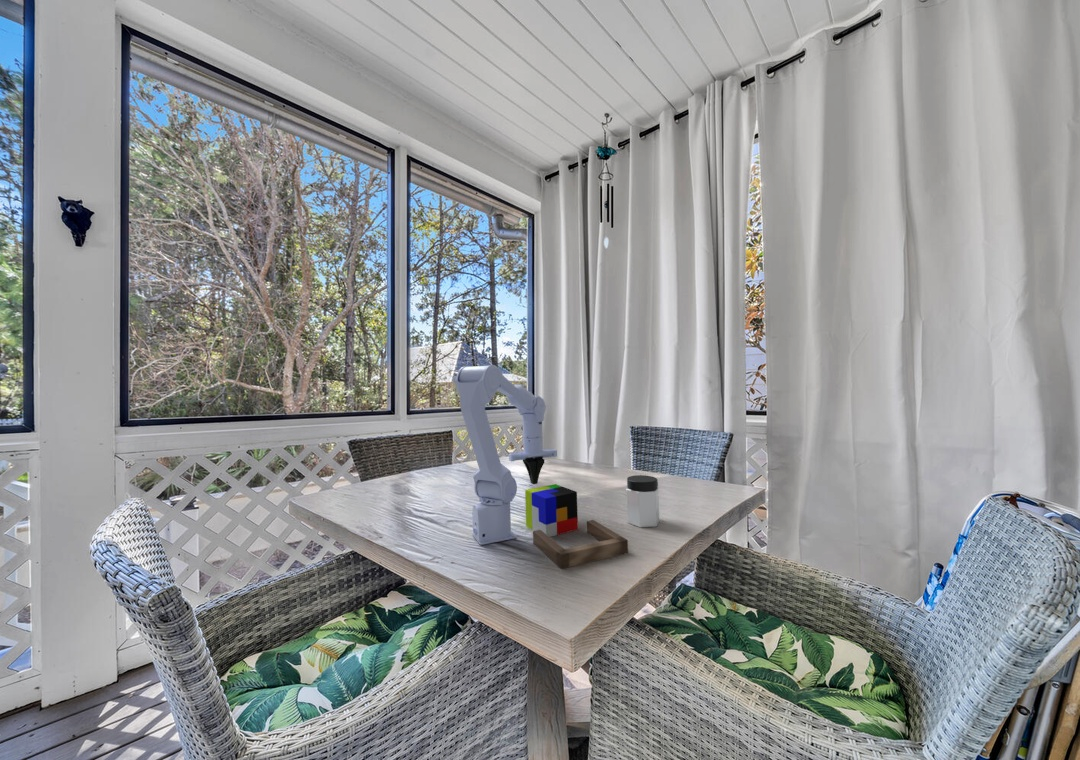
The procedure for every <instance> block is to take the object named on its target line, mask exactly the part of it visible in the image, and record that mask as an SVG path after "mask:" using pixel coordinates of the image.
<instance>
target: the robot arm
mask: <svg viewBox="0 0 1080 760" xmlns="http://www.w3.org/2000/svg"><path fill="white" fill-rule="evenodd" d="M454 385H455V386H456V390H457V393H458V397H459V406H460V412H461V414H462V418H463V420H464V424H465V427H466V430H467V432H468V437H469V440H470V443H471V447H472V449H473V454H474V455H475V456H474V457H475V459H476V463H477V466H478V469H477V470H476V472H475V473H474V474H473V476H472V477H473V480H474V494H475V495H476V497H478V498H479V503H476V504H474V505H473V506H472V511H471V512H472V533H471V534H472V536H473V538H475V540H476V541H477V543H478V544H479V545H480V546H481V545H482V546H484V545H488V544H492V543H498V542H504V541H507V540H508V541H509V540H514V539H517V537H518V536H517V535H516V534H515V533H514V532H513V531H512V525H511V524H512V523H511V521H512V520H511V518H512V517H511V515H512V514H511V502H513V500H514V498H515V497H516V495H517V491H518V485H517V481H516V479H515V478H514V477H513V475H512V472H511V470H510V468H508V467H506V465H504V464H502V463H501V459H500V456H499V452H498V449H497V446H496V443H495V440H494V439H495V438H494V436H493V435H494V434H493V432H492V428H491V425H490V422H489V421H490V420H489V419H488V415H487V411H486V405H487V404H489V403H490V402H491V401H492V400H493V398H494V396H495V395H496V393H497V392H498V393H501V394H502V395H504V396H506V400H507V403H509V404H510V405H512V406H514V407H515V408H516V409H518V413H519V414H520V416H522V439H523V440H522V441H523V442H522V443H523V445H522V446H523V451H519V452H513V453H508V461H509V462H511V463H512V462H515V461H522V463H523V464H524V466H525V468H526V470H527V474H528V476H529V481H530V483H531V484H532V485H537V484H538V482H539V477H540V474H541V470H542V468H543V466H544V464H545V459H544V458H551V457H553V458H556V457H558V450H557V449H554V448H553V449H551V448H550V449H544V448H543V447H544V442H543V441H544V440H543V422H544V420H545V413H546V409H547V408H546V407H547V406H546V402H545V400H544V398H542V397H541V396H539V395H538V396H537V395H534V394H533V392H532V391H529V390H528V389H526V388H525V386H524V384H513V383H512V382H511V381H510V380H509V379H508V378H507V377H505V375H503V371H502V369H501V368H499V367H498V366H497V365H495V364H489V365H478V366H469V365H464V366H461V367H460V368H459V370H458V371H457V374H456V376H455V378H454Z"/></svg>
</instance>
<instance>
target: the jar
mask: <svg viewBox="0 0 1080 760" xmlns="http://www.w3.org/2000/svg"><path fill="white" fill-rule="evenodd" d="M626 483H627V485H626V487H627V488H626V489H625V491H626V521H627V524H629V525H632V526H635V527H637V528H652V527H657V526H658V525H659V522H660V501H659V500H660V498H659V497H660V496H659V493H660V492H659V481H658V478H657V477H655V476H653V475H646V474H643V475H641V474H640V475H639V474H638V475H637V474H636V475H630V476H628V477H627V478H626Z"/></svg>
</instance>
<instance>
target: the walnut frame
mask: <svg viewBox="0 0 1080 760" xmlns="http://www.w3.org/2000/svg"><path fill="white" fill-rule="evenodd" d="M586 533H587V534H588V535H589V536H591V537H593V538H594V539H595V540H598V541H597V542H592V543H587V544H583V545H578V546H574V547H569V548H564V547H563V546H562V545H560V544H559V543H558V542H556V541H555V540H554V539H553V538H551V537H549V536H548V535H546V534H545V533H544V532H543V531H541V530H536V531H533V530H532V543H533V545H534V546H535V547H537V549H539V550H540V551H541V552H542V553H543V554H544V555H545V556H546V557H547V558H548V559H549V560H551V561H552V563H554V564H555V565H556V566H557V567H558V568H559V569H560V570H562V569H566V568H570V567H575V566H579V565H583V564H587V563H591V562H596V561H601V560H604V559H608V558H613V557H618V556H621V554H622V555H626V554H629V541H628V539H627V538H625V537H624V536H622V535H621V534H618V533H617V532H615V531H613V530H611V529H610V528H608V527H606V526H605V525H604V524H602V523H600V522H597V521H596V520H594V519H590V520H586ZM625 553H626V554H625ZM617 555H618V556H617Z"/></svg>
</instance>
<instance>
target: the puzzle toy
mask: <svg viewBox="0 0 1080 760" xmlns="http://www.w3.org/2000/svg"><path fill="white" fill-rule="evenodd" d="M524 494H525V496H524V497H525V498H524V499H525V501H524V502H525V525H526V526H525V527H527V528H528V529H530V530H532V532H533V531H536V530H541V531H543V532H544V533H545V534H546V535H548V536H549V537H550V538H551V537H554V536H557V535H559V536H560V535H562V534H566V533H569V532H573V531H576V530H579V527H578V526H579V524H578V523H579V522H578V518H579V517H578V491H575V490H573V489H570V488H567V487H565V486H562V485H558V484H557V483H556V484H550V485H545V486H543V485H542V486H540V487H533V488H527V489H525V491H524Z"/></svg>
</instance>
